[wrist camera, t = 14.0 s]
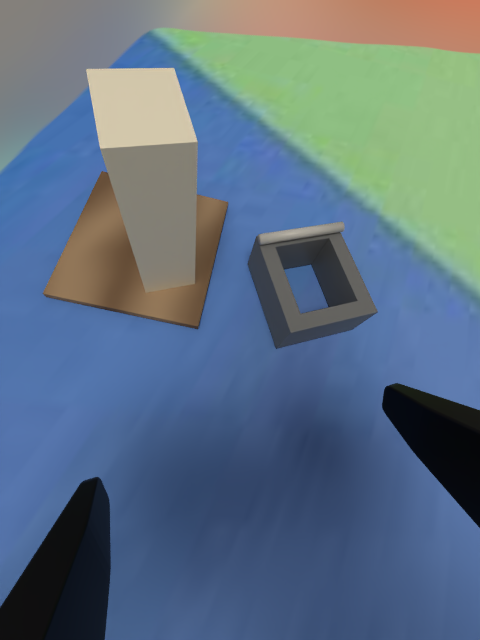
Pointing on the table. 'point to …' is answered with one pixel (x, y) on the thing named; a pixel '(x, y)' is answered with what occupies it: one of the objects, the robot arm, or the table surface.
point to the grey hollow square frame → (332, 273)
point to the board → (131, 263)
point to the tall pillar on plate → (150, 168)
